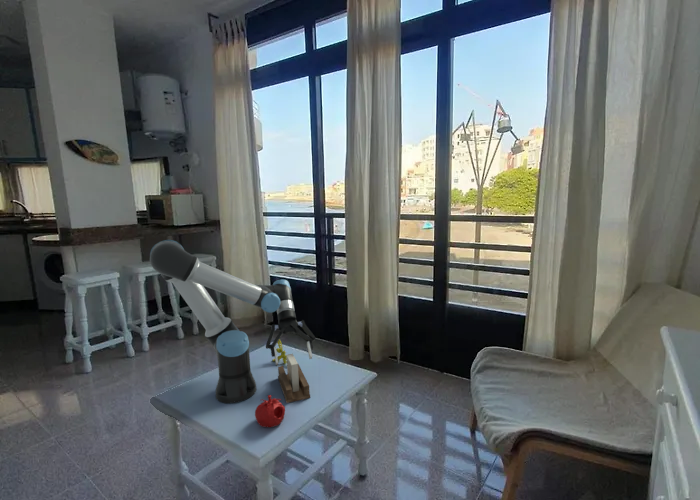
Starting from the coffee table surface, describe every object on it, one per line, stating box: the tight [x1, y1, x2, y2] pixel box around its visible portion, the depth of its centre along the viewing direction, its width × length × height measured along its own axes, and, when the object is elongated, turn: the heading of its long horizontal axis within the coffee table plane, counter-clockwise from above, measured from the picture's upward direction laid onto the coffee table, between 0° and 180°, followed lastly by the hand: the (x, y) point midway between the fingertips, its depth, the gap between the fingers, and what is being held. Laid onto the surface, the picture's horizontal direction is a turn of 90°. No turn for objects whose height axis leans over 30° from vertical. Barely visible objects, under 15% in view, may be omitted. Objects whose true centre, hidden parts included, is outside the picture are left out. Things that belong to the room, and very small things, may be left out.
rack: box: [277, 363, 311, 404], centre depth 139 cm, size 9×20×5 cm, turn 20°
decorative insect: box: [271, 338, 287, 365], centre depth 162 cm, size 13×3×10 cm
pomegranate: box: [254, 394, 286, 428], centre depth 117 cm, size 10×10×9 cm
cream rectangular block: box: [285, 353, 299, 392], centre depth 139 cm, size 2×10×11 cm, turn 21°
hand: (294, 361), depth 138 cm, fingers open, 13 cm apart
